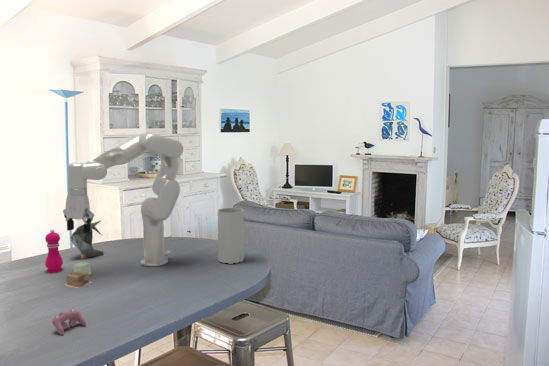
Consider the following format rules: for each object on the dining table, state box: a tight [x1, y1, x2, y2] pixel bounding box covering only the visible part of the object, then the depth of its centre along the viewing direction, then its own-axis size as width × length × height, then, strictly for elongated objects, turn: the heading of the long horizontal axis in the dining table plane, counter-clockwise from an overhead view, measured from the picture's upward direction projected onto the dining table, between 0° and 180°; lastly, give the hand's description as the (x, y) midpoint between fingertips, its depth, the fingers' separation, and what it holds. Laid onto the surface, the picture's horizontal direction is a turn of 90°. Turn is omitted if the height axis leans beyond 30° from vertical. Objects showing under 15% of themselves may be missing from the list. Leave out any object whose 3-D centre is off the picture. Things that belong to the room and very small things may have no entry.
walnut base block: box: [66, 271, 90, 287], centre depth 208 cm, size 6×6×4 cm
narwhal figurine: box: [70, 220, 105, 260], centre depth 247 cm, size 14×15×18 cm
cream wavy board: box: [63, 281, 93, 289], centre depth 213 cm, size 17×15×1 cm
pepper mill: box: [44, 229, 64, 274], centre depth 223 cm, size 7×7×20 cm
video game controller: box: [51, 309, 87, 335], centre depth 168 cm, size 10×5×7 cm, turn 145°
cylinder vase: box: [217, 207, 245, 265], centre depth 243 cm, size 12×12×25 cm
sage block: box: [72, 261, 92, 276], centre depth 218 cm, size 5×5×5 cm
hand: (78, 231), depth 216 cm, fingers open, 9 cm apart
